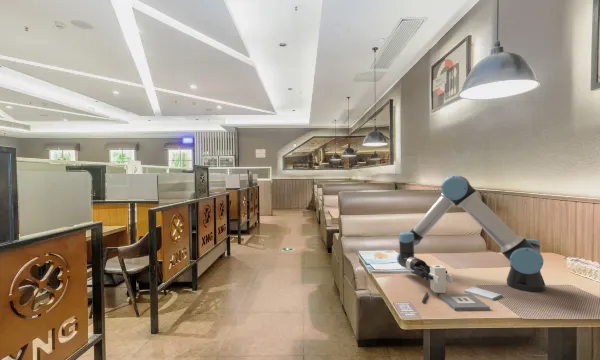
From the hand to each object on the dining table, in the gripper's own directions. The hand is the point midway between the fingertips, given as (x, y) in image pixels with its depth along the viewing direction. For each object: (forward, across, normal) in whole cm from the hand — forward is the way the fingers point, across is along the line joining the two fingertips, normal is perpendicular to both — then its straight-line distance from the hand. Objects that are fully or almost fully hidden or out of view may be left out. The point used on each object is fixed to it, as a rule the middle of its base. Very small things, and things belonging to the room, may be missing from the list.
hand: (444, 279), depth 132 cm
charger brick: (-5, 0, -7) cm, 8 cm away
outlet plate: (+6, -4, -8) cm, 11 cm away
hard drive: (-1, -20, -9) cm, 22 cm away
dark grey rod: (-2, +9, -8) cm, 12 cm away
